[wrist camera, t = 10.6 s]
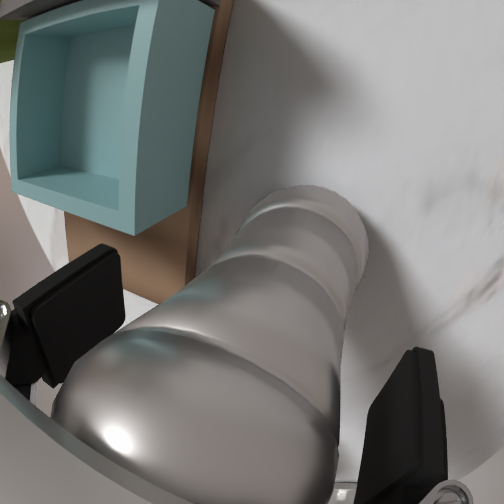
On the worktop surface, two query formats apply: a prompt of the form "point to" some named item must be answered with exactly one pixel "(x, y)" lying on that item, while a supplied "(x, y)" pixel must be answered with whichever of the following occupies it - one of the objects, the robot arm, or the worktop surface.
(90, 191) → the teal open box
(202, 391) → the plastic bottle
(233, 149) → the worktop surface
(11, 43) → the plant pot
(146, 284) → the rail base
